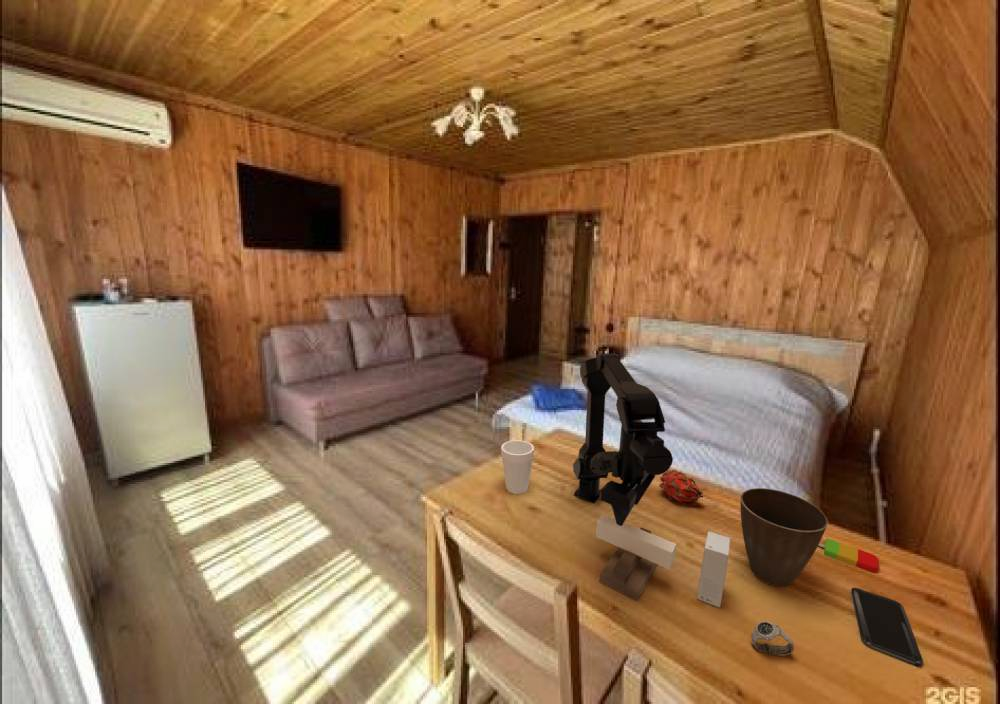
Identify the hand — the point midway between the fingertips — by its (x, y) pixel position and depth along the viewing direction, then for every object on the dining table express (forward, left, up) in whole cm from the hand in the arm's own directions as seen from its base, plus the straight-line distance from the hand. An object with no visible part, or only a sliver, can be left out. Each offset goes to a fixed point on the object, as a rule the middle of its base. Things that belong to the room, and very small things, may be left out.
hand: (627, 514), depth 89 cm
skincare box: (-2, +17, -12) cm, 21 cm away
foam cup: (-9, -36, -12) cm, 38 cm away
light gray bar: (+1, +2, -7) cm, 7 cm away
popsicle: (-33, +38, -12) cm, 51 cm away
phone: (-14, +44, -12) cm, 48 cm away
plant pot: (-16, +26, -12) cm, 33 cm away
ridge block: (+1, +2, -12) cm, 12 cm away
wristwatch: (+5, +28, -12) cm, 31 cm away
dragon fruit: (-33, +3, -12) cm, 35 cm away
